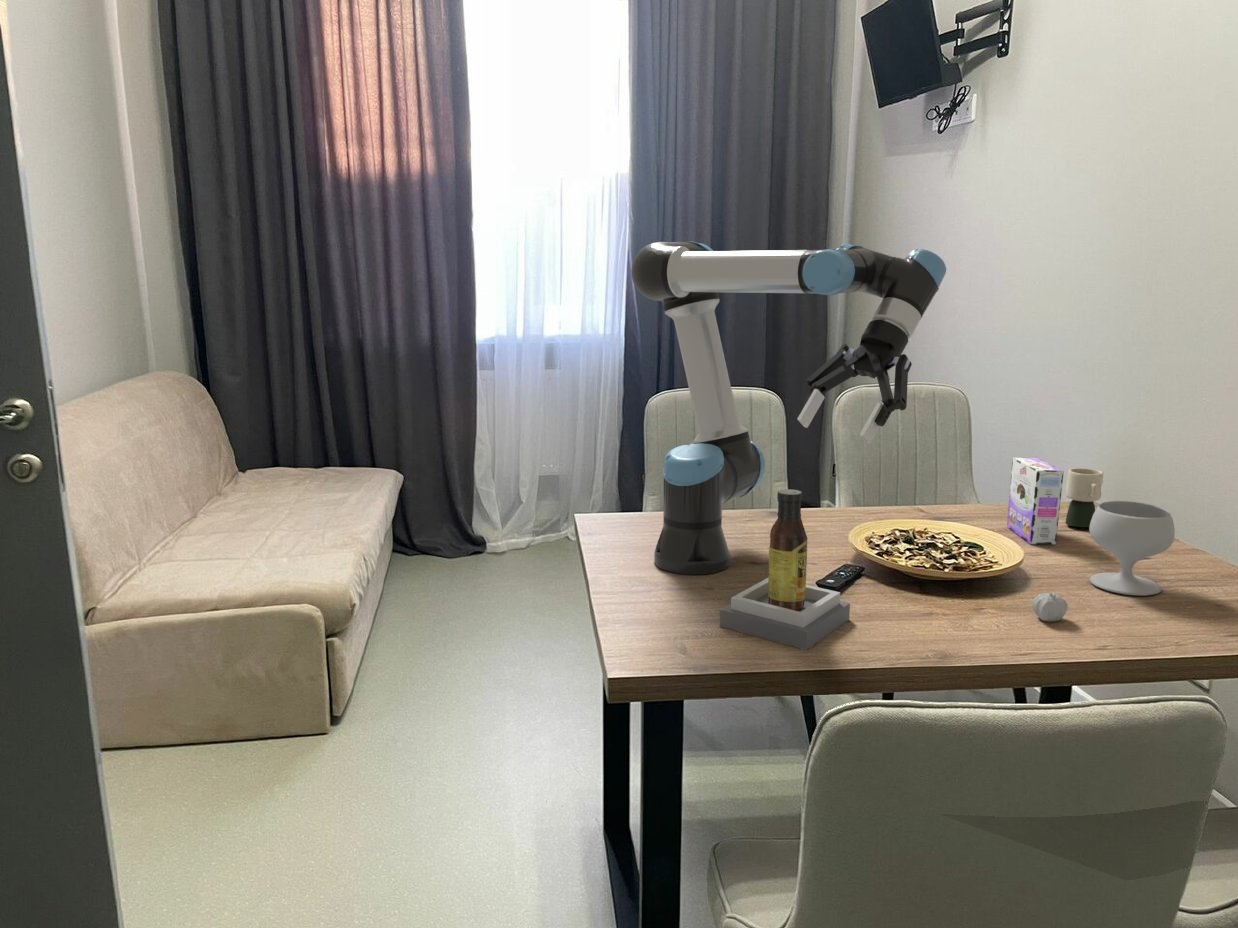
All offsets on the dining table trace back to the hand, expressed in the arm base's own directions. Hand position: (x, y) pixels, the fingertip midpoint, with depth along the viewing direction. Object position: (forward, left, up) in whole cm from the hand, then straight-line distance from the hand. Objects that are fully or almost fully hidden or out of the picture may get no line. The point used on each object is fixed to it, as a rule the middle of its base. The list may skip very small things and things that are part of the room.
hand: (832, 431), depth 166 cm
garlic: (+34, +16, -31) cm, 49 cm away
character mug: (+25, +79, -31) cm, 89 cm away
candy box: (+18, +65, -31) cm, 75 cm away
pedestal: (-1, -13, -31) cm, 34 cm away
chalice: (+41, +42, -31) cm, 67 cm away
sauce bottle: (-1, -13, -28) cm, 31 cm away
